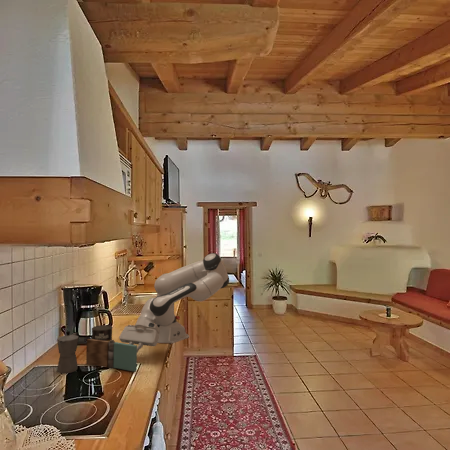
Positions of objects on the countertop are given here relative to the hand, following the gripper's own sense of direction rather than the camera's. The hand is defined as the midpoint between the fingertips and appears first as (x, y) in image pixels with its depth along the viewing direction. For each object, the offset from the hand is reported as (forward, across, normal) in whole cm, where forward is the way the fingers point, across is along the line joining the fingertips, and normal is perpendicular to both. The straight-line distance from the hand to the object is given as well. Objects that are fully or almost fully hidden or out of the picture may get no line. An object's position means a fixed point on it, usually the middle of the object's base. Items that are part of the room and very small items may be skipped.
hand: (133, 351), depth 177 cm
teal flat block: (+9, -1, -1) cm, 9 cm away
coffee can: (0, -23, +10) cm, 25 cm away
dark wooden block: (+9, -14, 0) cm, 16 cm away
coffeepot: (+15, -25, -6) cm, 30 cm away
